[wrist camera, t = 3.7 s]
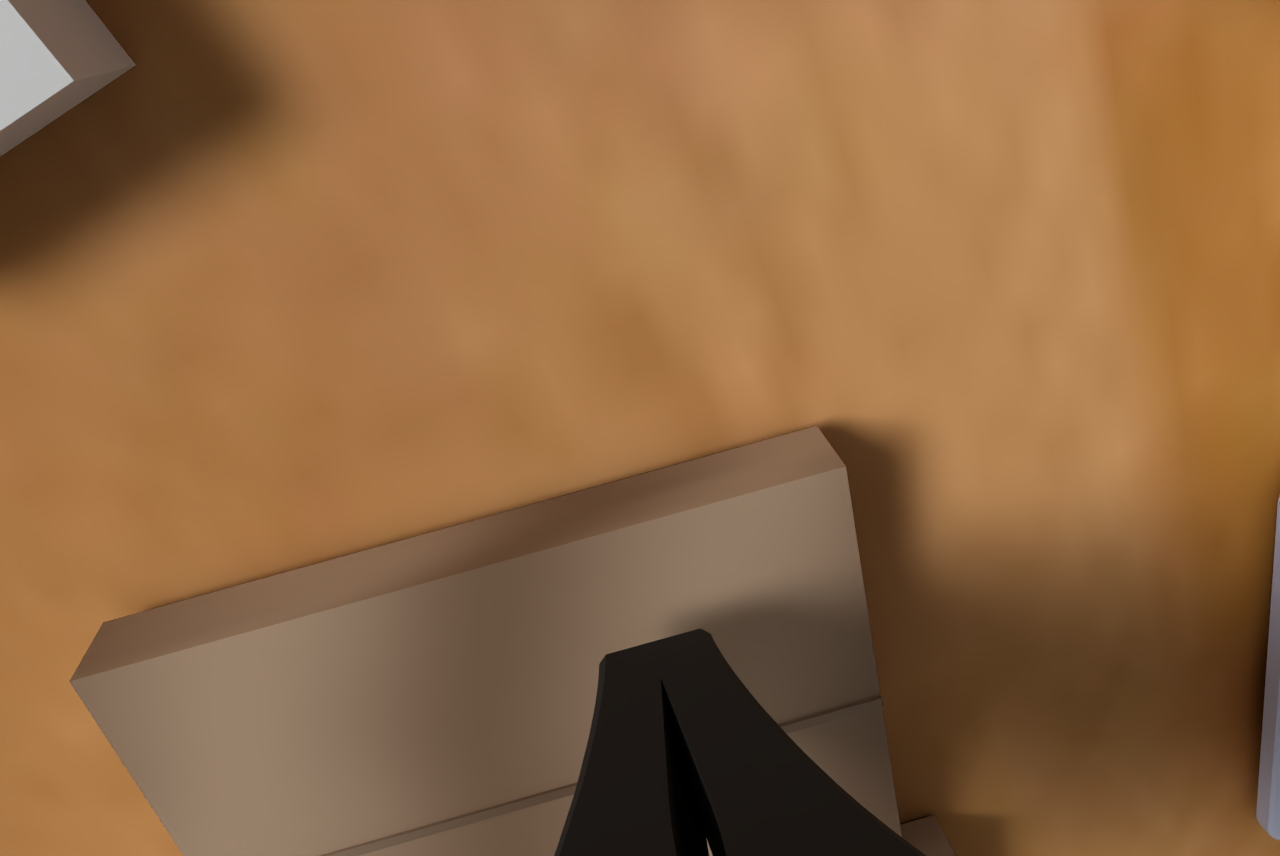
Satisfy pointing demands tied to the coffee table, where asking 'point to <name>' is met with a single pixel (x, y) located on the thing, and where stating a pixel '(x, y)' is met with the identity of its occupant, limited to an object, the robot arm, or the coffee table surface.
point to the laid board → (927, 837)
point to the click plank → (492, 663)
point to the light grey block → (51, 63)
